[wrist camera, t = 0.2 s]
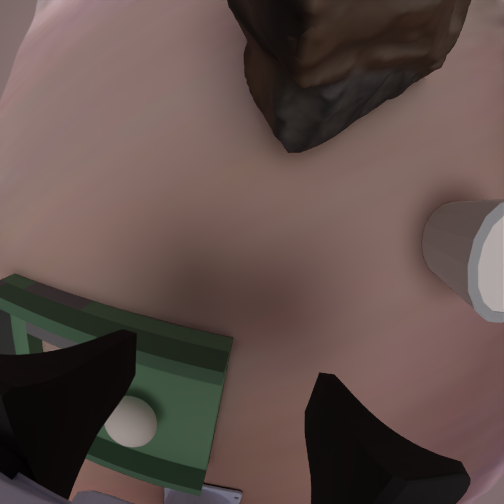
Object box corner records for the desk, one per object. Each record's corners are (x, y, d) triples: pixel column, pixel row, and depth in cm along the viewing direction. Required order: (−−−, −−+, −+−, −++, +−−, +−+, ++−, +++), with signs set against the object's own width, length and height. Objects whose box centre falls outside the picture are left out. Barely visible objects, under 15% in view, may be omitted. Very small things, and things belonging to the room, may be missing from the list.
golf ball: (162, 430, 22) (147, 464, 18) (117, 415, 22) (97, 446, 18) (164, 394, 21) (147, 429, 17) (115, 379, 21) (92, 409, 17)
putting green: (208, 461, 25) (187, 546, 15) (31, 395, 25) (-21, 447, 15) (239, 305, 21) (213, 396, 11) (14, 246, 22) (-73, 275, 12)
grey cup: (482, 284, 20) (537, 316, 13) (410, 290, 20) (458, 331, 13) (489, 194, 18) (552, 202, 12) (415, 190, 19) (473, 195, 12)
